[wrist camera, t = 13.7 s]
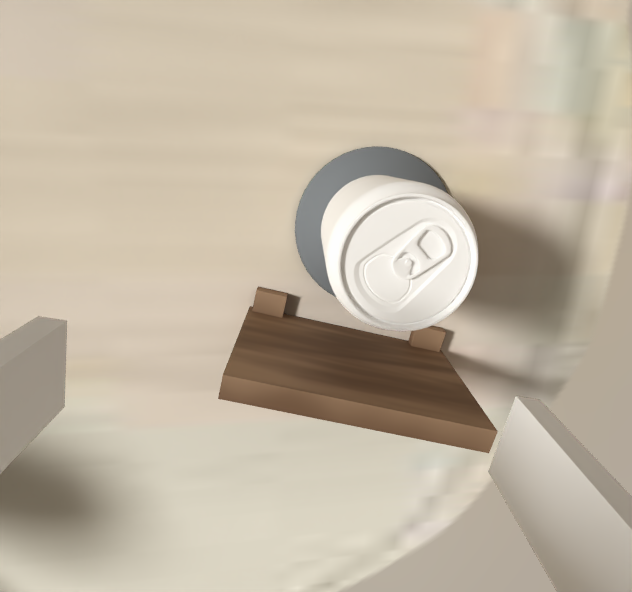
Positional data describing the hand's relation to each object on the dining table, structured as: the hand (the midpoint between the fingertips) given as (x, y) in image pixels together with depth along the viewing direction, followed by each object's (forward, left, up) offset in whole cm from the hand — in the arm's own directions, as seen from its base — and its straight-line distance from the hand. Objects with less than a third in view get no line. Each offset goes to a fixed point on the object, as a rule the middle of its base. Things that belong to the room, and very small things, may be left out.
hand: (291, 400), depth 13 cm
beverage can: (-3, +5, -23) cm, 23 cm away
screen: (+6, +5, -23) cm, 24 cm away
